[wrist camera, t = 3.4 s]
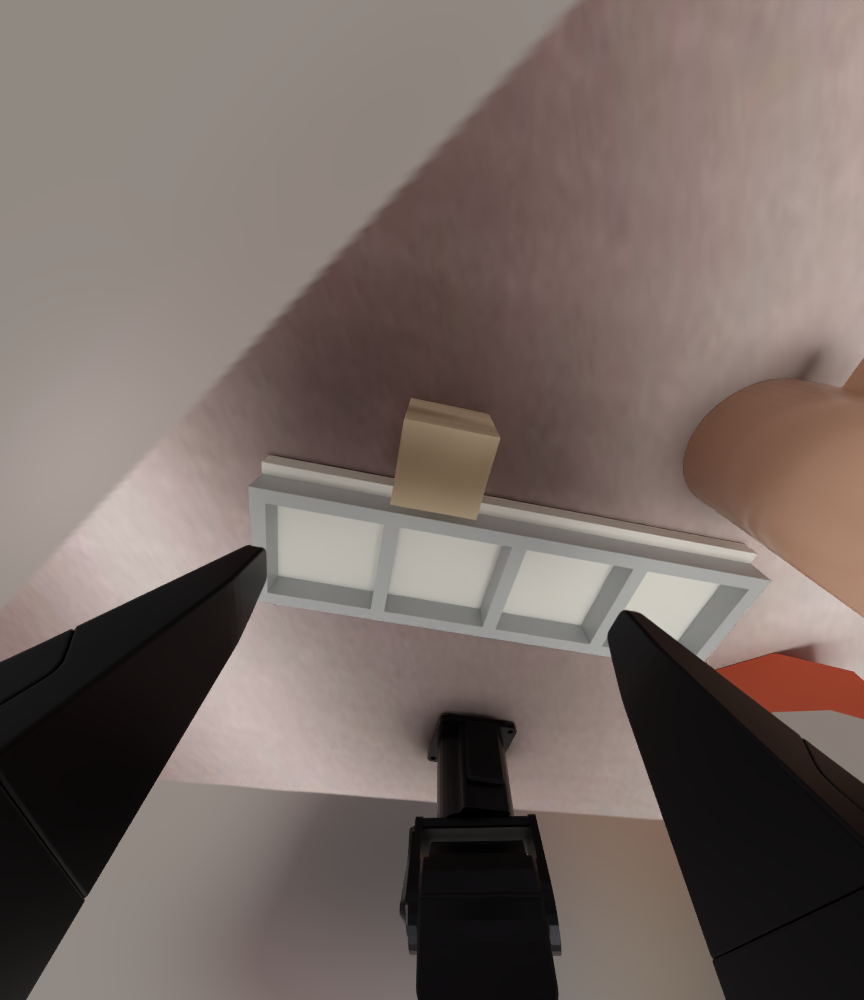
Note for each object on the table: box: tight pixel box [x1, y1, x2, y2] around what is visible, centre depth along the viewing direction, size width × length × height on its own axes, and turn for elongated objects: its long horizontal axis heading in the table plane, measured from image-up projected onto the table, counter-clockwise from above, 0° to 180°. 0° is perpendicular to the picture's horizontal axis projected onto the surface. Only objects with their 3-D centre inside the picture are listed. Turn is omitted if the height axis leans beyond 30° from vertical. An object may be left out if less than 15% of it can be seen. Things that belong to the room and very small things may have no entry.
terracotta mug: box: [683, 358, 864, 618], centre depth 14 cm, size 8×7×9 cm
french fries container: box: [716, 653, 864, 783], centre depth 19 cm, size 5×11×18 cm, turn 120°
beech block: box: [390, 398, 500, 520], centre depth 17 cm, size 4×4×4 cm
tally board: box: [248, 455, 771, 661], centre depth 21 cm, size 9×28×2 cm, turn 79°
